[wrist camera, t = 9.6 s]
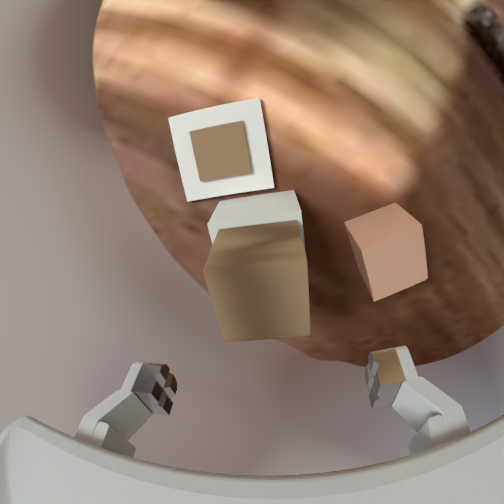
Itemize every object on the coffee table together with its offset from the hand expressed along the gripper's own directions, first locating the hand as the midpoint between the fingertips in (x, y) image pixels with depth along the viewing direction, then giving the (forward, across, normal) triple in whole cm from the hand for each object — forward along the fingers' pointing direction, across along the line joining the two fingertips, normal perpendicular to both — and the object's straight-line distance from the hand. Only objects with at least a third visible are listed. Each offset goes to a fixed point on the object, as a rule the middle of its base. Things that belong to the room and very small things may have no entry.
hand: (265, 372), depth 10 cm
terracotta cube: (+15, -9, +2) cm, 17 cm away
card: (+14, +3, -6) cm, 16 cm away
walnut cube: (+10, +1, 0) cm, 10 cm away
